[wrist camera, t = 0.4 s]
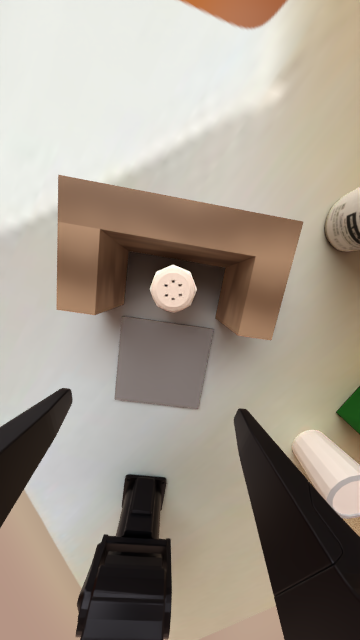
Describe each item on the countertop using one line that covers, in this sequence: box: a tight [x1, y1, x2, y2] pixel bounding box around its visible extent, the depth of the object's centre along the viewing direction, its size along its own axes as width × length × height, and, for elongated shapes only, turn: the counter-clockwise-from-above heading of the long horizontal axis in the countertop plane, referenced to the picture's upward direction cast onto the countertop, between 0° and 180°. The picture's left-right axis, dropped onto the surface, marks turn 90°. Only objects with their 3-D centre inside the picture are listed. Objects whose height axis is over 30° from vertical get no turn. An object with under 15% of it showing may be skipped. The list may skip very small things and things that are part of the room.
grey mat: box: [115, 316, 214, 409], centre depth 23 cm, size 12×12×1 cm
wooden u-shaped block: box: [57, 175, 303, 340], centre depth 17 cm, size 10×18×8 cm, turn 82°
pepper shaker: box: [150, 265, 197, 313], centre depth 16 cm, size 5×5×11 cm
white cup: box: [292, 430, 360, 519], centre depth 23 cm, size 7×7×7 cm
